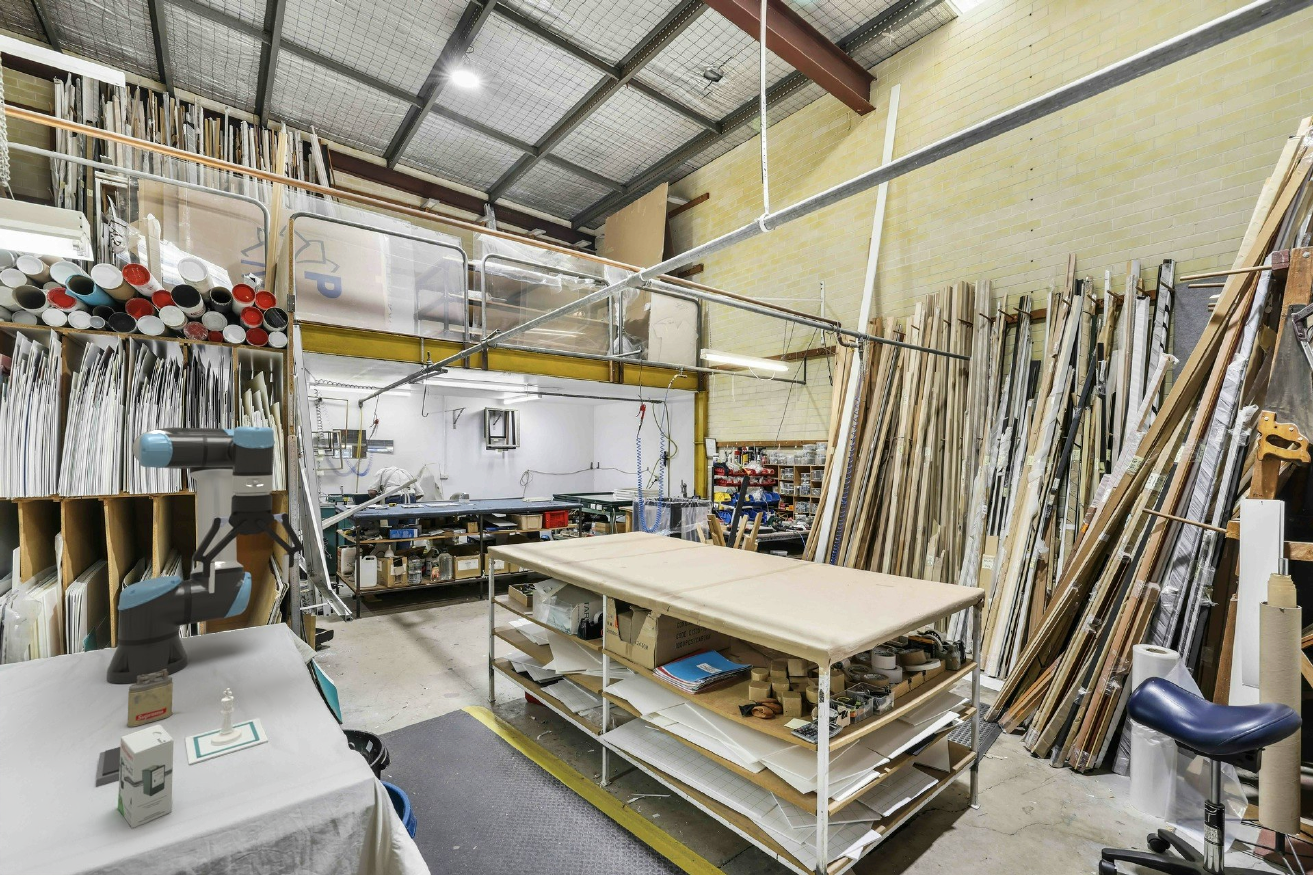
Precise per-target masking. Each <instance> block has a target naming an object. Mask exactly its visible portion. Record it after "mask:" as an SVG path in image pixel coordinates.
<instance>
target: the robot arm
mask: <svg viewBox="0 0 1313 875" xmlns="http://www.w3.org/2000/svg"><path fill="white" fill-rule="evenodd" d="M274 436H275V433H274V430H273V428H271V427H267V426H266V427H265V426H263V427H262V426H237V427H235V428H234V429H232V428H230V429H229V428H223V427H221V428H217V427H216V428H212V427H211V428H210V427H209V428H208V427H207V428H206V427H163V428H156V429H152V430H148V431H145V432H144V433H143V432H142V433H141V434H140V435H138V436H137V437H136V438H135V439H134V441H133V442H132V448H131V452H132V454H133V456H134V458H135V459H136V460H137V461H138V462H139V465H140V466H141V467H143V468H155V469H172V470H173V469H176V470H177V469H178V470H179V469H180V470H181V469H182V470H189V476H190V478H193V480H195V481H196V513H197V514H196V522H197V523H196V525H197V527H196V528H197V529H196V530H197V531H196V532H197V534H196V535H197V536H196V537H197V539H196V541H197V547H196V548H197V549H196V550H195V551H194V553H193V555H192V557H191V558H192V560H193V562H197V566H196V567H195V568H193V570H192V571H191V572H190V574H189V575H190V577H189V578H190V579H188V580H187V579H185V580H183V579H182V578H181V576H180V575H169V576H167V575H166V576H160V577H154V578H150V579H146V580H142V581H139V582H135V583H133V584H130V585H128V586H127V587H125V588H124V589H123V590H122V591H121V592H120V594H119V602H118V605H117V609H118V629H117V630H118V632H117V634H118V635H117V647H116V649H115V652H114V654H113V656H112V659H111V661H110V663H109V665H108V668H107V671H106V681H107V682H108V683H111V684H135V683H136V682H137V676H140V675H147V674H151V673H155V672H159V671H162V670H163V669H167V672H168V676H169V675H171V674H174V673H176V672H178V671H180V670H182V669H184V668H185V667H186V666H187V664H188V654H187V651H186V649H185V647H184V644H183V642H182V640H181V638H180V626H185V625H191V624H198V623H203V622H204V623H205V622H208V621H209V622H210V621H215V620H219V619H226V618H229V617H235V616H239V615H241V614H242V613H244V612H245V611H246V609H247V607H248V604H249V602H250V598H251V592H252V591H251V590H252V574H251V573H250V572H248V571H244V569H245V567H244V565H243V564H241V563H240V562H238V560H237V558H238V557H237V537H238V535H241V536H250V535H261V534H263V533H264V532H265V533H266V534H267V535H268V536H269V537H270V538H271V539H272V540H274V542H276V544H278V545H279V546H280V547H281V548H282V549H283V550H285V552H286V553H282V578H281V580H282V581H281V582H283V584H288V583H289V571H290V570H289V568H294V566H295V554H296V553H297V552H301V551H303V550H304V545H303V543H302V542H301V540H300V538H299V537H298V535H297V534H296V532H295V530H294V528H293V527H292V524H290V521H289V520H290V519H289V514H288V513H286V512H285V511H284V512H283V511H282V512H281V513H276V514H273V495H272V494H271V492H273V489H274V488H273V483H274V482H273V481H274V480H273V478H274V476H273V474H274V452H275V451H274V450H275V448H274V447H275V444H276V442H275V437H274ZM275 520H276V521H277V522H278V523H280V524H281V525H282V527H283V529H284V530H285V532H286V534H287V536H288V537H289V539H290V541H291V542H292V544H293V545H294V546H290V545H289V544H288V543H287V542H286V541H285V540H284V539H283V538H282V537H281V536H279V534H278V533H276V532H275V531H274V529H272V528H271V527H270V525H271V524H272V523H273V522H274V521H275ZM157 674H158V673H157ZM161 677H162V676H160V677H157V678H161ZM144 681H148V680H143V681H142V682H144Z"/></svg>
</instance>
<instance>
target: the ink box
mask: <svg viewBox="0 0 1313 875" xmlns="http://www.w3.org/2000/svg"><path fill="white" fill-rule="evenodd" d="M174 742H175V741H174V739H173V737H171V735H170V734H169V733H168V731H166V729H165V728H164V727H163V726H162V725H161V724H155V725H152V726H149V727H147V728H144V729H141V730H138V731H135V732H131V733H128V734H125V735H122V736H120V746H119V747H120V770H119V780H118V794H117V795H118V798H117V799H118V800H117V809H118V810H119V811H120V813H121V815H122V816H123V817H124V819H125V820H126V822H127V823H128V824H129V826H130V827H131V829H134V828H137V827H138V826H141V825H144V824H147V823H149V822H151V821H154V820H155V819H158V818H161V817H162V816H165V815H167V814H169V813H172V809H173V807H172V804H173V773H174V772H173V771H174V769H173V768H174V766H173V765H174Z"/></svg>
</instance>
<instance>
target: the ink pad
mask: <svg viewBox="0 0 1313 875" xmlns="http://www.w3.org/2000/svg"><path fill="white" fill-rule="evenodd" d="M97 765H98V766H97V772H96V773H97V774H96V781H95V782H96V784H95V786H96V787H99V786H103V785H107V784H110V783H113V782H117V781H119V770H120V746H117V747H113V748H111V749H106V750H105V751H101V752H99V757H98V764H97Z"/></svg>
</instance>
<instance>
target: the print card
mask: <svg viewBox="0 0 1313 875" xmlns="http://www.w3.org/2000/svg"><path fill="white" fill-rule="evenodd" d="M232 728H234V729H239V730H241V732H242V736H241V737H240V738H239V739H238V740H236V741H234V742H232V743H229V744H225V745H218V746H216V745H212V744H211V739H212V737H213V736H214V735H216V734H217V733H219V732H220V731H221V730H222V727H220V728H216V729H212V730H209V731H206V732H201V733H198V734H194V735H190V736H186V737H184V741H185V742H184V743H185V749H186V755H187V762H188V766H192V765H195V764H198V763H202V762H206V761H209V760H212V759H215V758H218V757H219V758H220V757H221V756H225V755H228V754H232V753H236V752H238V751H242V750H245V749H249V748H252V747H255V746H259V745H262V744H265V743H268V742H269V739H268V737H267V735H266V732H265V730H264V728H263V725H262V723H261V720H260V718H259V717H257V718H252V719H250V720H245V721H242V722H238V723H234V724H232Z"/></svg>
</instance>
